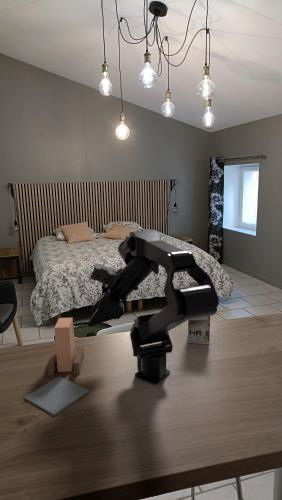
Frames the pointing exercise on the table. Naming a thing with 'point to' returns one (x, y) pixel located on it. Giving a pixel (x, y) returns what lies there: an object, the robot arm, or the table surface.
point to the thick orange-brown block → (65, 344)
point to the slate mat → (56, 395)
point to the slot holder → (77, 363)
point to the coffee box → (199, 328)
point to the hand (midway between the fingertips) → (90, 318)
